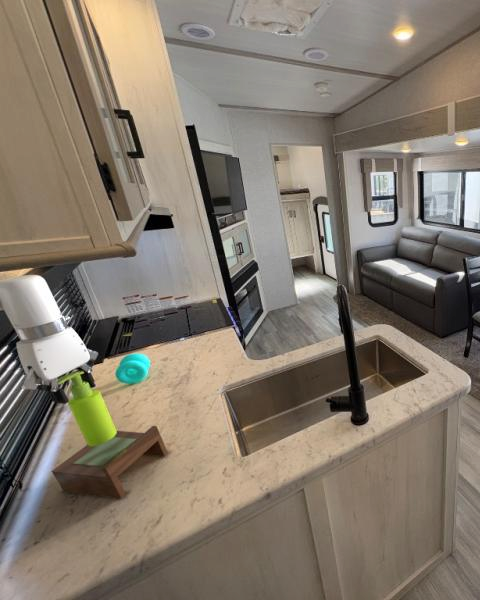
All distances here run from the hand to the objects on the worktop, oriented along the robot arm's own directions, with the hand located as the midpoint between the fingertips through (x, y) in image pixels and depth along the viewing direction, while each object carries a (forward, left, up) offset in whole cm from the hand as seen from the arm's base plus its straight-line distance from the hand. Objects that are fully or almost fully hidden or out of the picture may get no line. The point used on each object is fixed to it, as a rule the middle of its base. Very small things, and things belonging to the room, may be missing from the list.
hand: (76, 393), depth 76 cm
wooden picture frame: (+1, 0, -26) cm, 26 cm away
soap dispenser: (0, 0, -15) cm, 15 cm away
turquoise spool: (-38, +41, -26) cm, 62 cm away
